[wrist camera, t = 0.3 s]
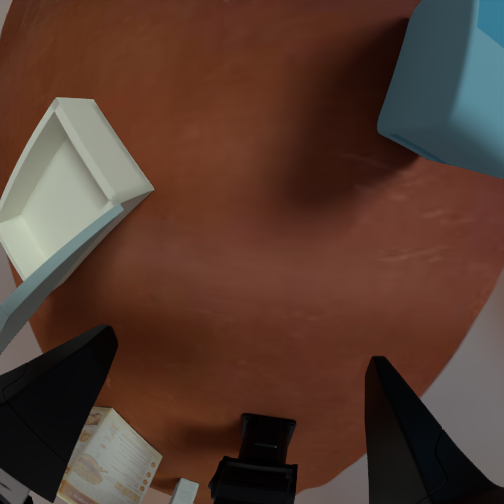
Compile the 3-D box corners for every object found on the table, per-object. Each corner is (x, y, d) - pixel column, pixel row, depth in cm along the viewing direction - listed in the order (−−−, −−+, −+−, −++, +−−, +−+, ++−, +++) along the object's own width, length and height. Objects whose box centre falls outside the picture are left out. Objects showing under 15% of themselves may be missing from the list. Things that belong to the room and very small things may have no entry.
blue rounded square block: (422, 159, 18) (521, 187, 7) (371, 133, 19) (446, 129, 8) (457, 39, 14) (541, -4, 3) (410, 11, 14) (474, -58, 3)
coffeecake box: (90, 405, 40) (37, 481, 22) (113, 406, 38) (57, 494, 20) (139, 453, 44) (102, 524, 26) (164, 456, 42) (128, 536, 24)
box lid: (118, 203, 18) (124, 209, 18) (33, 305, 24) (37, 309, 24) (-1, 306, 8) (8, 317, 8) (-24, 377, 14) (-20, 382, 14)
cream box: (154, 189, 23) (121, 202, 18) (64, 282, 29) (37, 302, 25) (93, 99, 21) (55, 97, 16) (20, 211, 27) (-9, 223, 22)
